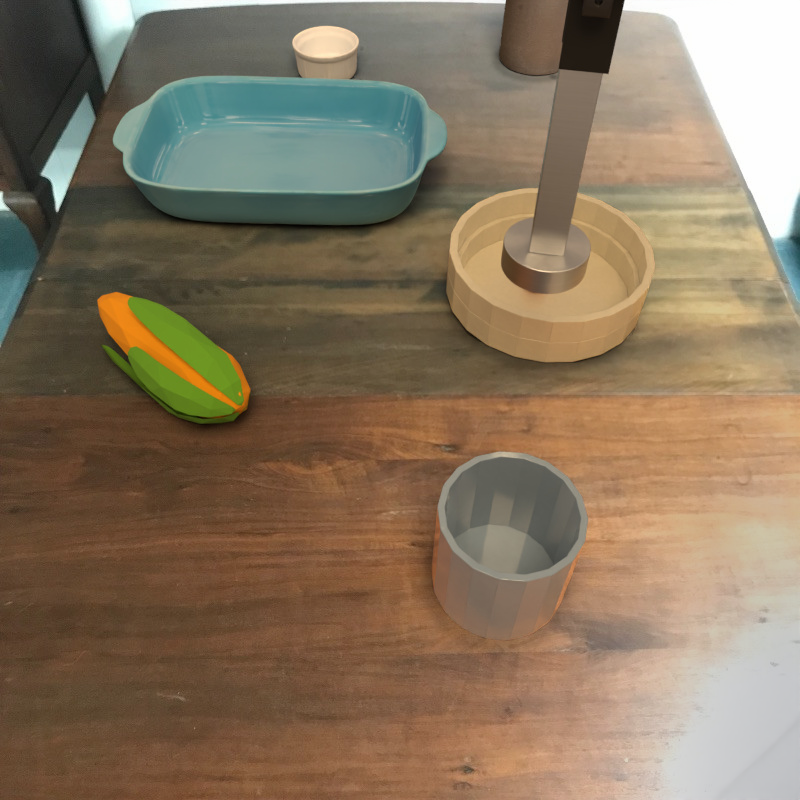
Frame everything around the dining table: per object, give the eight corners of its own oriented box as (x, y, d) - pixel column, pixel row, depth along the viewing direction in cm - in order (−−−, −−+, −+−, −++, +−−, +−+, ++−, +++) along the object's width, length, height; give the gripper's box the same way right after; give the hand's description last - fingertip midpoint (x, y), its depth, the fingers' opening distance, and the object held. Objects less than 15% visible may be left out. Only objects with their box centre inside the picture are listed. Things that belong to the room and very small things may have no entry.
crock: (589, 594, 60) (619, 528, 52) (486, 669, 57) (501, 610, 49) (505, 501, 65) (521, 429, 58) (405, 564, 62) (408, 496, 54)
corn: (196, 402, 62) (50, 284, 70) (208, 462, 67) (72, 346, 76) (267, 355, 66) (121, 248, 74) (273, 414, 71) (136, 309, 79)
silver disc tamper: (603, 273, 56) (708, -115, 37) (538, 306, 54) (615, -89, 35) (547, 228, 59) (617, -150, 40) (483, 258, 57) (527, -128, 38)
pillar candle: (488, 47, 113) (500, -67, 102) (551, 37, 115) (569, -76, 104) (514, 81, 107) (530, -36, 96) (580, 70, 109) (602, -45, 98)
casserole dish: (104, 236, 86) (85, 180, 80) (153, 122, 100) (140, 68, 95) (443, 249, 85) (446, 193, 80) (444, 132, 99) (448, 79, 94)
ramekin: (286, 63, 110) (282, 32, 106) (345, 50, 112) (343, 20, 109) (308, 94, 105) (306, 63, 101) (370, 80, 107) (369, 49, 104)
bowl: (680, 312, 80) (698, 267, 75) (531, 398, 72) (541, 354, 68) (550, 211, 90) (559, 166, 85) (408, 278, 82) (409, 232, 78)
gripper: (607, -625, 31) (529, -11, 50) (596, -657, 22) (503, 121, 40) (803, -624, 31) (650, 0, 49) (883, -658, 21) (655, 137, 39)
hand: (584, 53), depth 44 cm, fingers closed on silver disc tamper, 2 cm apart
